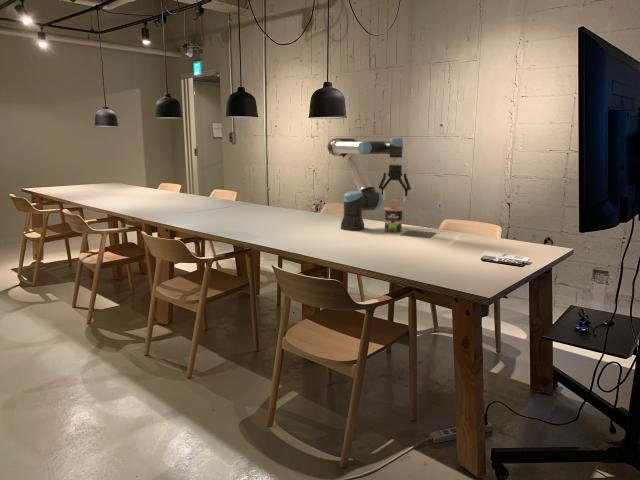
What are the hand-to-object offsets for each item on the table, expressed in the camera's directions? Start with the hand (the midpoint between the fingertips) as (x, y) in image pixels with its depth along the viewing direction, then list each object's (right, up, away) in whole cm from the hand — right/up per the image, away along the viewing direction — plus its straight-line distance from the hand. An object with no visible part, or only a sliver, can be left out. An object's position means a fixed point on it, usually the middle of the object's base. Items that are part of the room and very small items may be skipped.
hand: (394, 200), depth 286 cm
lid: (0, -5, +1) cm, 5 cm away
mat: (+14, -20, -3) cm, 25 cm away
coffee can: (0, -19, +4) cm, 20 cm away
